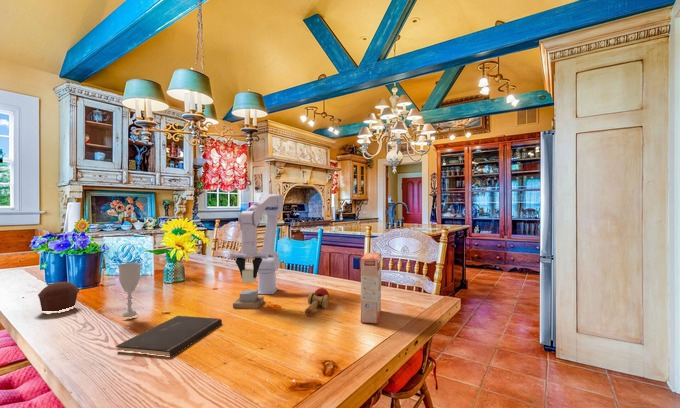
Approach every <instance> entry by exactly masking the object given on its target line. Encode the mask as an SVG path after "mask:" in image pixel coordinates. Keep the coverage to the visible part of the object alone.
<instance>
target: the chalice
mask: <svg viewBox="0 0 680 408" xmlns="http://www.w3.org/2000/svg"><path fill="white" fill-rule="evenodd" d="M142 264H143V263H141V262H125V263H120V264H117V268H118V272H119V273H118V280H119V284H120V286H121V288H122V289H123V291H124V292H126V293H127V297H126V300H127V302H126V305H127V309H126V310H125V311H124V312H122V315H121V317H132V316H135V315H138V313H137V311H136V310H135V309H133V308H132V304H133V302H132V299H133V297H132V293H133V292H134V291H135V290H136V289H137V286H138V284H139V282H140V280H141V267H142Z"/></svg>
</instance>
